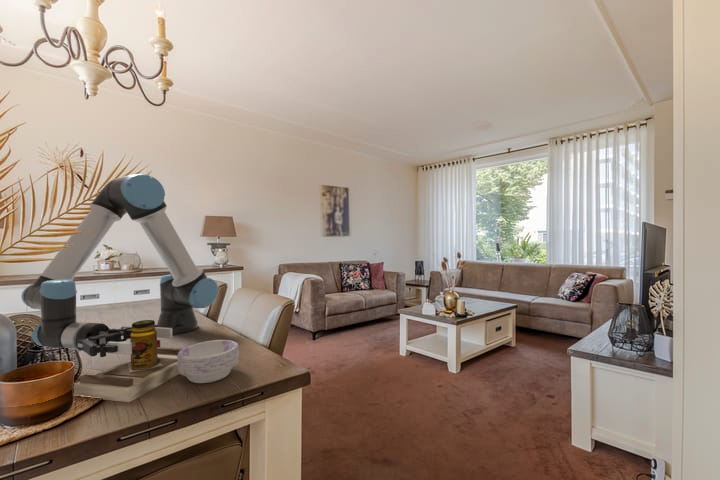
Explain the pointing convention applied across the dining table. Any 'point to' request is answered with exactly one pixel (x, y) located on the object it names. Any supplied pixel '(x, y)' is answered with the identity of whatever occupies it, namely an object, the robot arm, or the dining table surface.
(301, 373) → the dining table surface
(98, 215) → the robot arm
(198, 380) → the paper bowls
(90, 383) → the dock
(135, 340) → the condiment
